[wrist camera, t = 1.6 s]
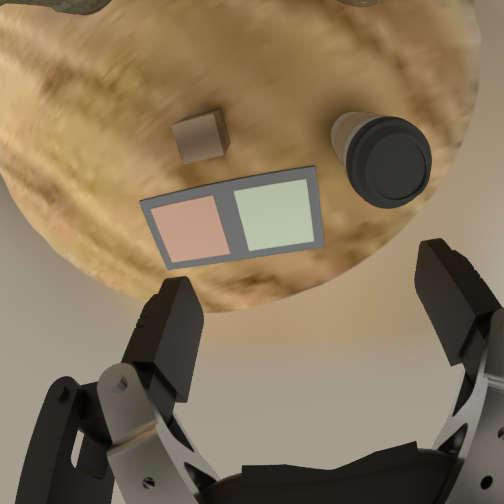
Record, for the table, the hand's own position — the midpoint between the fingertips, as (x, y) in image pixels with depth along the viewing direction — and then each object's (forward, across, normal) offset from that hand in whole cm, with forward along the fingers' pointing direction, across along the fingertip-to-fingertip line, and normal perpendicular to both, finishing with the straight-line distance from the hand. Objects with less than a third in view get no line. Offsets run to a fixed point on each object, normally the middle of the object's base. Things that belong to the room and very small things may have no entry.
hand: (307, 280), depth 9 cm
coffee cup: (+30, -10, +2) cm, 32 cm away
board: (+30, +9, +12) cm, 34 cm away
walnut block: (+30, +9, -2) cm, 32 cm away
